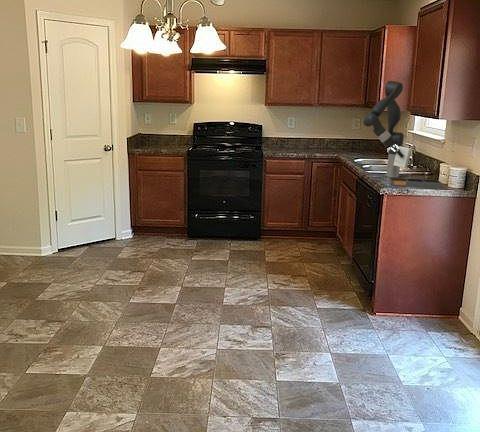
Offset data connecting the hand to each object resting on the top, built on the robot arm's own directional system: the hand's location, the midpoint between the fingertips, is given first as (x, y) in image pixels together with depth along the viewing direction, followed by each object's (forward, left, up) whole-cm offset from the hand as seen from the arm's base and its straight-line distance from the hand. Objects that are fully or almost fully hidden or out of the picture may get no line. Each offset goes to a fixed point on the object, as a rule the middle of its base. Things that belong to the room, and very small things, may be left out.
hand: (401, 156), depth 351 cm
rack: (0, +11, -20) cm, 23 cm away
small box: (0, 0, -7) cm, 7 cm away
